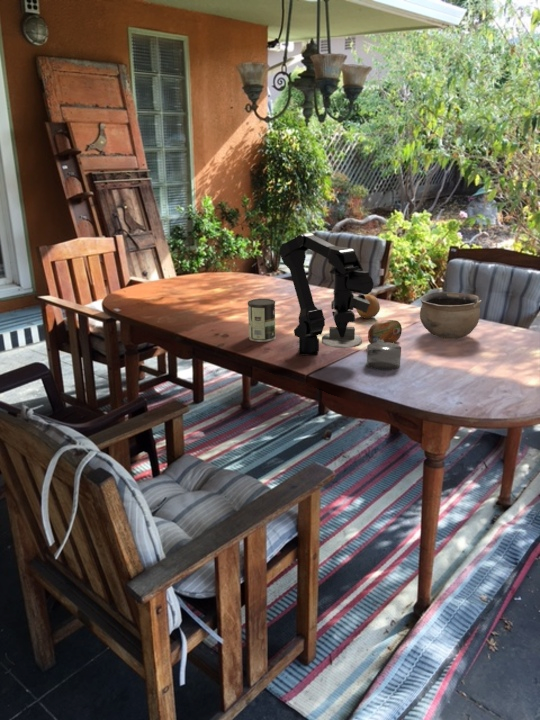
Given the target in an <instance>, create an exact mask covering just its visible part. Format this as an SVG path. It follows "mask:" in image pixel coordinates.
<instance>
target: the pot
mask: <svg viewBox="0 0 540 720" xmlns="http://www.w3.org/2000/svg"><path fill="white" fill-rule="evenodd" d="M401 359H402V347H401V346H400V345H399V344H397V343H388V342H384V340H376V342H375V343H369V344H368V345H367V346H366V367H368V368H371V369H373V370H377V369H378V371H393V370H392V369H394V370H396V369H399V368H400V367H401Z"/></svg>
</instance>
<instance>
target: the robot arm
mask: <svg viewBox="0 0 540 720" xmlns="http://www.w3.org/2000/svg"><path fill="white" fill-rule="evenodd" d="M309 250H310V251H312V252H314V253H316V254H318V255H320V256H321V257H324V258H325V259H327V261H328V264H330V265H331V266H332V267H333V268H332V269H330V271H329V274H331V275H334V276H333V279H334V281H333V283H334V284H333V300H332V301H331V303H330V305H331V306H330V307H331V308H330V309H331V310H334V311H332V313H331V314H332V316H333V317H332V318H333V320H334V324H335V327H337V329H338V332H339V335H340V337H341V338H343V337H344V335H345V331H346V328H347V327H348V324H349V323H355V320H356V316H355V313H354V311H353V310H354V309H355V310H356V309H358V310H361V311H362V312H364V313H366V312H367V310H368V308H369V305H370V303H369V301H368V300H365V295H367V294H370V293H371V292H372V291H373V288H374V283H375V282H374V280H373V278H372V276H370V272H369V271H364V269H363V267H362V264H361V262H360V260H359V257H358V256H357V254H356V250H354V249H353V248H352V247H351V248H350V247H346V246H338V245H334V244H332V243H330V242H328V241H326V240H325V239H322V238H320V237H319V236H316V235H314V233H311V232H305V233H303V232H302V233H300V234H298V235H297V236H296V237H294V238H292V239H290V240H289V241H286V242H284V243H282V244H281V245H280V248H279V251H278V252H279V256H280V258H281V260H282V263H283V264H284V265H285V266H286V267H287V268H288V270H289V272H290V275H291V279H292V283H293V286H294V291H295V295H296V298H297V302H298V304H299V309H300V311H299V314H298V315H299V316H298V325H297V326H296V327H295V328H294V330H293V334H294V337H296V338H298V355H300V356H306V355H307V356H309V355H310V356H313V355H315V356H316V355H318V353H319V351H320V339H319V338H318V336H320V335H322V334H323V331H324V329H325V326H326V323H325V321H326V318H325V316H324V311H323V309H321V308H320V309H318V307H317V306H315V303H314V298H313V295H312V290H311V287H310V285H309V284H310V283H309V280H308V276H307V272H306V268H305V267H304V266H305V261H306V256H307V255H306V252H307V251H309ZM353 292H354V293H357V294H358V295H355V294H354V293H353Z"/></svg>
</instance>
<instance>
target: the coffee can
mask: <svg viewBox="0 0 540 720" xmlns="http://www.w3.org/2000/svg"><path fill="white" fill-rule="evenodd" d="M247 307H248V309H247V314H248V339H249V340H250V341H252V342H257V343H259V342H260V343H263V342H264V343H265V342H270V341H274V340H276V300H274V299H271V298H255V299H250V300H248V301H247Z"/></svg>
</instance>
